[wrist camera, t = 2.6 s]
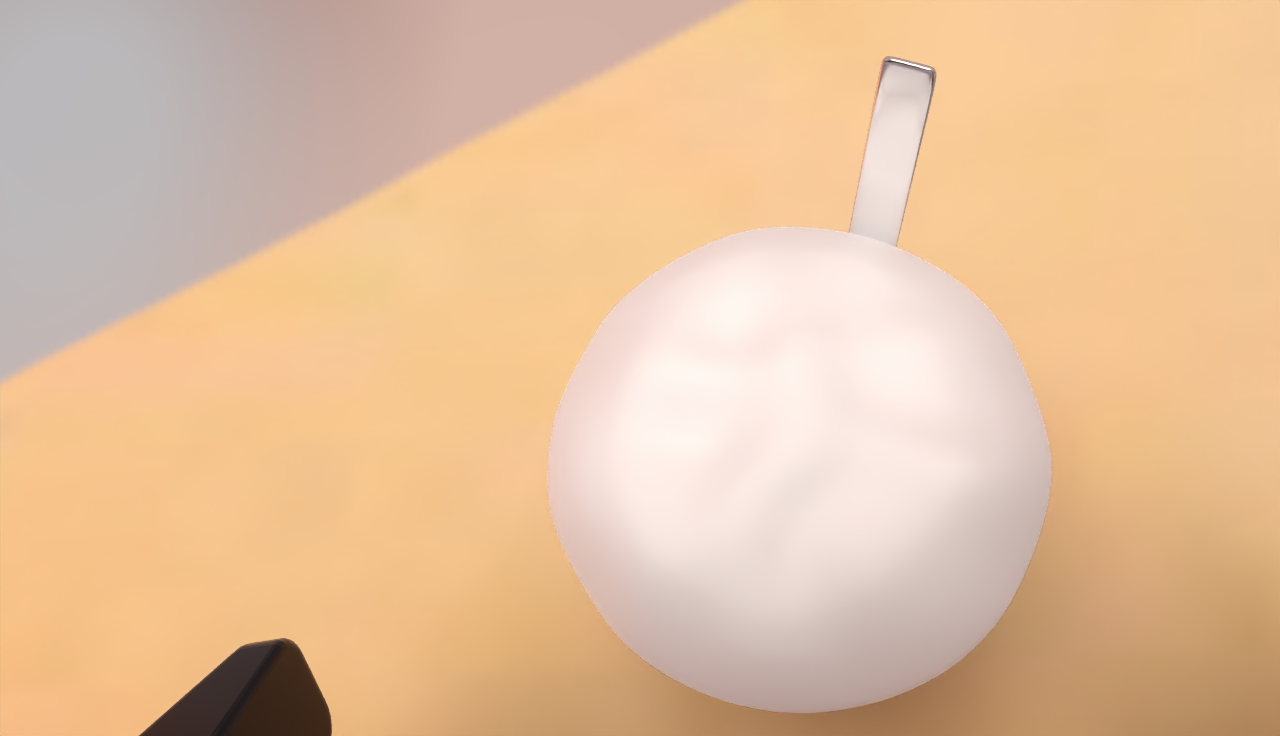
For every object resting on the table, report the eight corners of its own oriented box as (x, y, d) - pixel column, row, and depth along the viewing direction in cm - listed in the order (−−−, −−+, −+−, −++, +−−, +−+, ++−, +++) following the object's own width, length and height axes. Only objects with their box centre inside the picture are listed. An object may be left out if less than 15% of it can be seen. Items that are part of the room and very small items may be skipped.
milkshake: (1019, 429, 18) (1204, 137, 9) (905, 753, 17) (972, 830, 8) (754, 336, 19) (658, -8, 10) (632, 635, 18) (395, 572, 9)
